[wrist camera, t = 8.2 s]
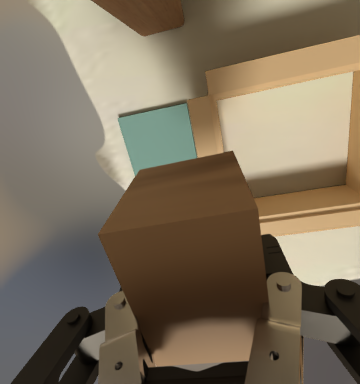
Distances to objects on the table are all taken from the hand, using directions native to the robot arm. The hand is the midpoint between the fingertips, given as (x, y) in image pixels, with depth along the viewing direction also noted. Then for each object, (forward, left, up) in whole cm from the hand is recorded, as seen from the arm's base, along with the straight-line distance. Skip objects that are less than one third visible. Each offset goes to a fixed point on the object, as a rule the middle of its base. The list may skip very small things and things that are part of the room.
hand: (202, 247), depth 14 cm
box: (0, 0, -1) cm, 1 cm away
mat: (0, -4, -17) cm, 18 cm away
